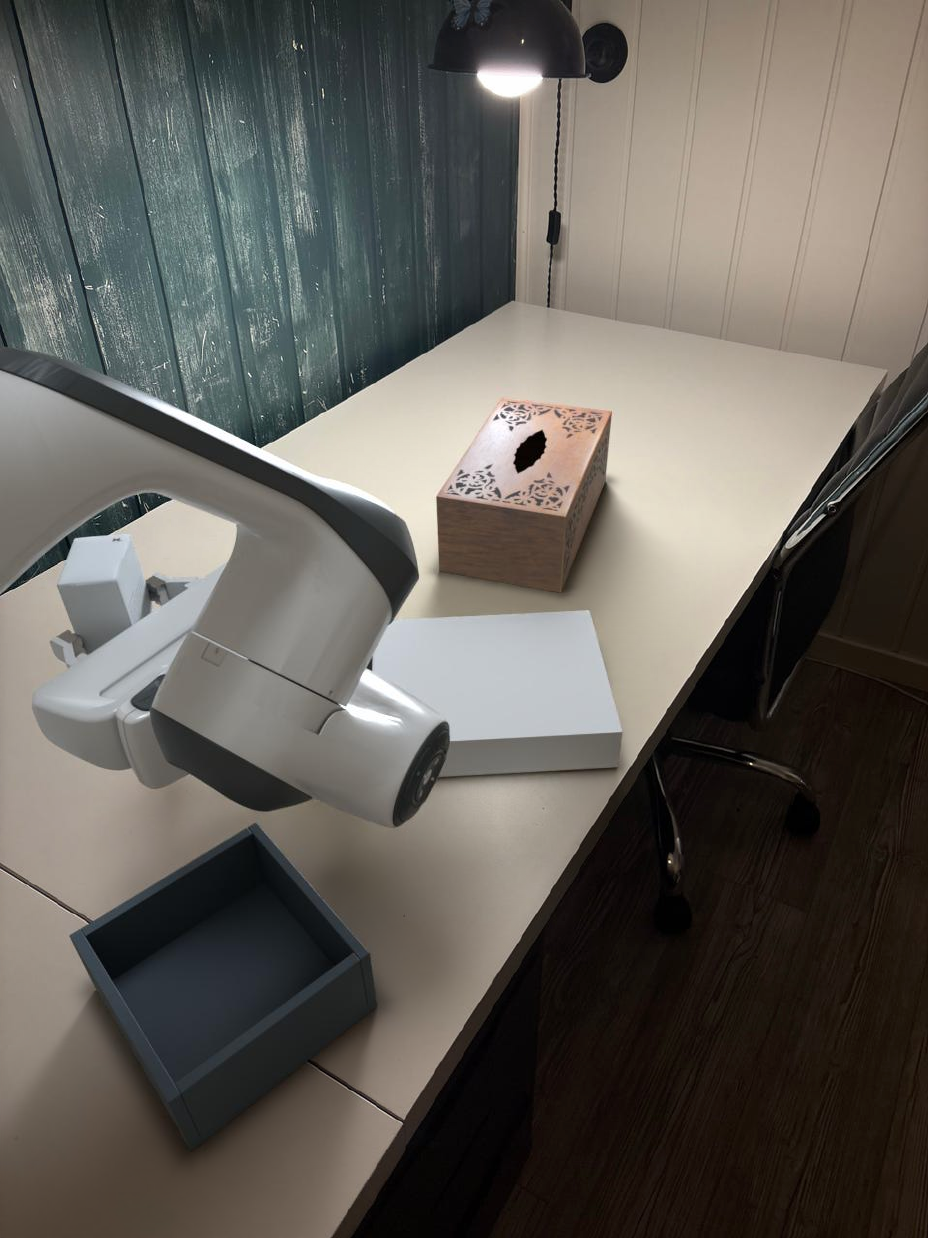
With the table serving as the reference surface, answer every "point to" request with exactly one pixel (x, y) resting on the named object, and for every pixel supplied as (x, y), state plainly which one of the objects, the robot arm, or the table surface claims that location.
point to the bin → (226, 979)
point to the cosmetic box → (103, 588)
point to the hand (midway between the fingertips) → (106, 612)
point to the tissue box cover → (524, 494)
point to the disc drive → (509, 689)
